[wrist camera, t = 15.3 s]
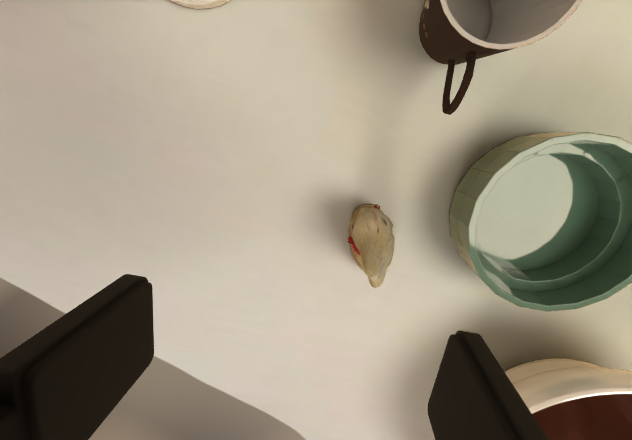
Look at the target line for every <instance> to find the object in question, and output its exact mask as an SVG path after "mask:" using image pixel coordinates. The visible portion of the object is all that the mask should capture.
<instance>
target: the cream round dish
mask: <svg viewBox="0 0 632 440" xmlns="http://www.w3.org/2000/svg"><path fill="white" fill-rule="evenodd" d="M505 373H506V375H507V376H508V378H509V380H510V381H511V383H512V384H513V386H514V387H515V389H516V390H517V392H518V393H519V395H520V396H521V398H522V399H523V401H524V403H525V404H526V406H527V407H528V409H529V410H530V412H531V413H532V415H533V416H534V418H535V419H536V421H537V422H538V424H539V425H540V427H541V429H542V430H543V432H544V433H545V435H546V436H547V438H548V439H549V440H632V371H626V370H619V369H612V368H604V367H601V366H598V365H594V364H591V363H588V362H584V361H579V360H573V359H561V358H559V359H543V360H537V361H532V362H528V363H524V364H521V365H518V366H516V367H513V368H511V369H509V370H507V371H505Z"/></svg>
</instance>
